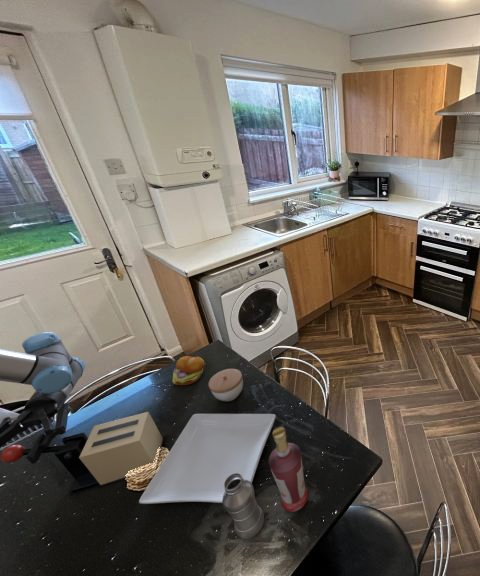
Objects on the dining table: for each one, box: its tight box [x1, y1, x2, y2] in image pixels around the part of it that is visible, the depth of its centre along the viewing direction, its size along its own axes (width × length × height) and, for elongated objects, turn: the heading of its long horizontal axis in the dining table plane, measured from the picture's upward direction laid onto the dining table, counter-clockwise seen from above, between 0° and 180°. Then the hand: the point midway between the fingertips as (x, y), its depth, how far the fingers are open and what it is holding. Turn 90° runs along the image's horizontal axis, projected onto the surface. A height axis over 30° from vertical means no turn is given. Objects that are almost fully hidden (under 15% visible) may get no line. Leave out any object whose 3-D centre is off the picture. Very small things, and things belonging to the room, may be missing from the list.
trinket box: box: [208, 368, 244, 402], centre depth 111 cm, size 11×11×9 cm
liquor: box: [268, 426, 309, 513], centre depth 75 cm, size 7×7×28 cm
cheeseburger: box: [172, 355, 205, 386], centre depth 119 cm, size 10×11×10 cm
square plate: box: [138, 413, 277, 505], centre depth 91 cm, size 27×27×4 cm
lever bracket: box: [54, 432, 100, 493], centre depth 85 cm, size 6×9×14 cm, turn 22°
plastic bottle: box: [221, 473, 265, 540], centre depth 72 cm, size 6×7×20 cm
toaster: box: [79, 411, 165, 487], centre depth 88 cm, size 13×10×13 cm
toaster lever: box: [0, 440, 82, 464], centre depth 79 cm, size 14×4×4 cm, turn 113°
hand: (2, 468), depth 73 cm, fingers open, 10 cm apart
